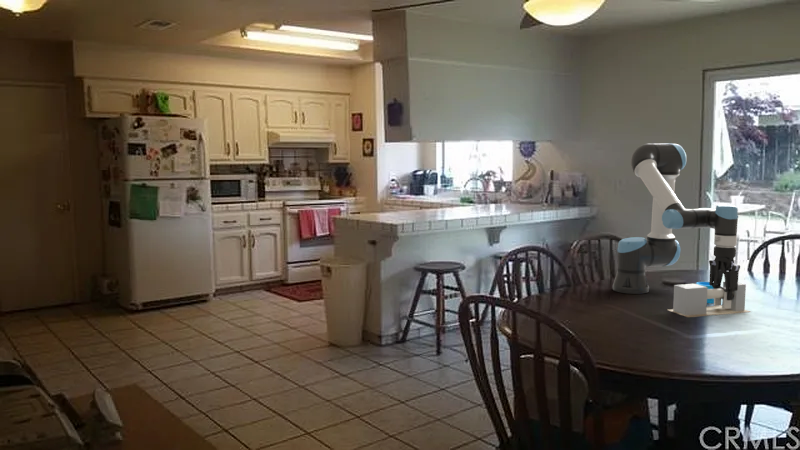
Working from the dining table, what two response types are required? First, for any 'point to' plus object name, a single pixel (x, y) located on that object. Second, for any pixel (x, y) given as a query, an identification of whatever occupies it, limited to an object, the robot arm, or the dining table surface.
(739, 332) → the dining table surface
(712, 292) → the tube
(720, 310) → the mount board
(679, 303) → the sleeve
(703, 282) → the mug
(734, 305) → the socket
